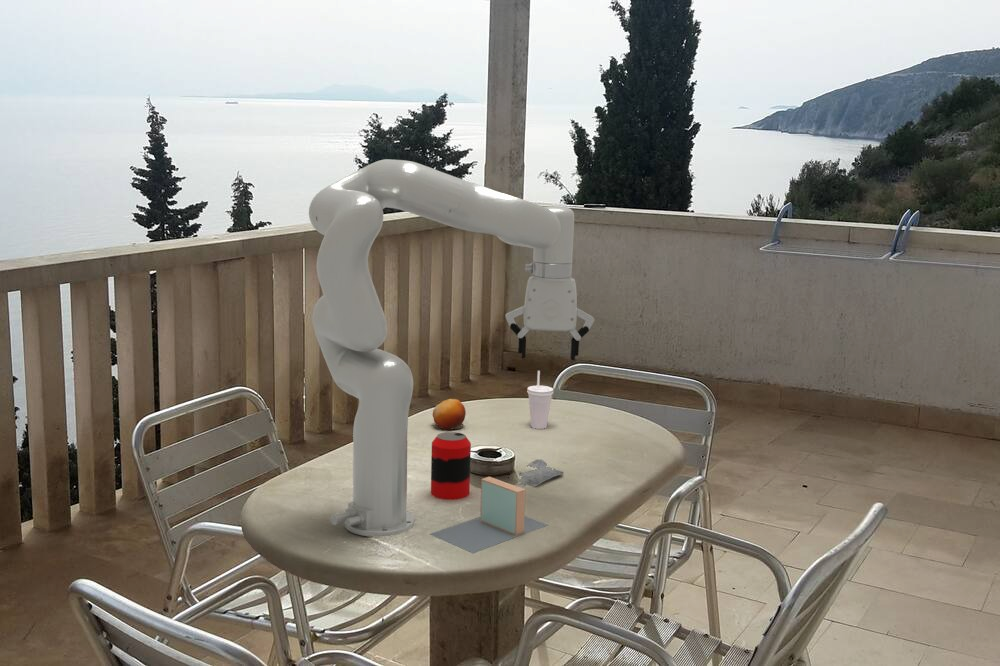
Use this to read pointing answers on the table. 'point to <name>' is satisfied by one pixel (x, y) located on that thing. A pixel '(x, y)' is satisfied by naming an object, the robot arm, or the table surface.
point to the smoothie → (539, 404)
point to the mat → (481, 534)
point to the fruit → (449, 414)
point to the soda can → (450, 466)
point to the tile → (502, 505)
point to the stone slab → (537, 474)
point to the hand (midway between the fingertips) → (547, 358)
